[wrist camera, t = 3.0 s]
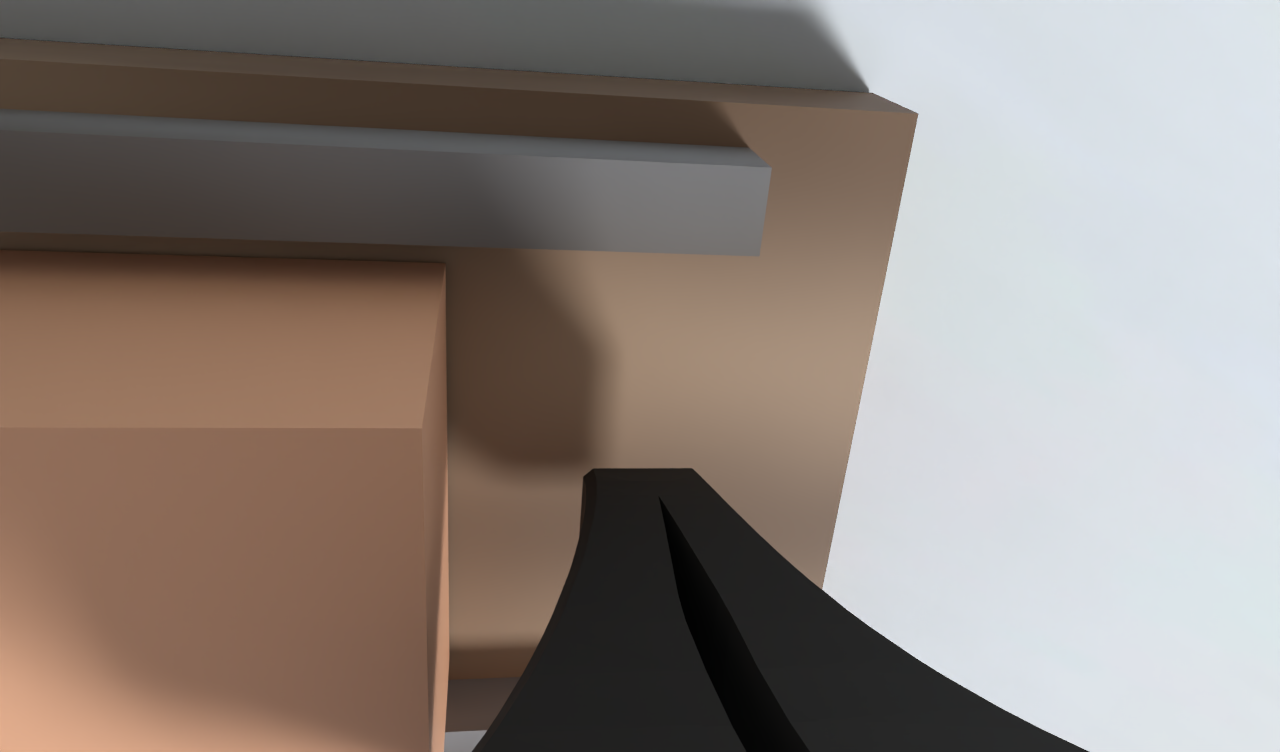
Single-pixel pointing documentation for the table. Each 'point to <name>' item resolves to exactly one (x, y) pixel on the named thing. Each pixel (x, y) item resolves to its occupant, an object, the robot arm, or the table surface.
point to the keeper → (222, 504)
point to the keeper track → (516, 270)
